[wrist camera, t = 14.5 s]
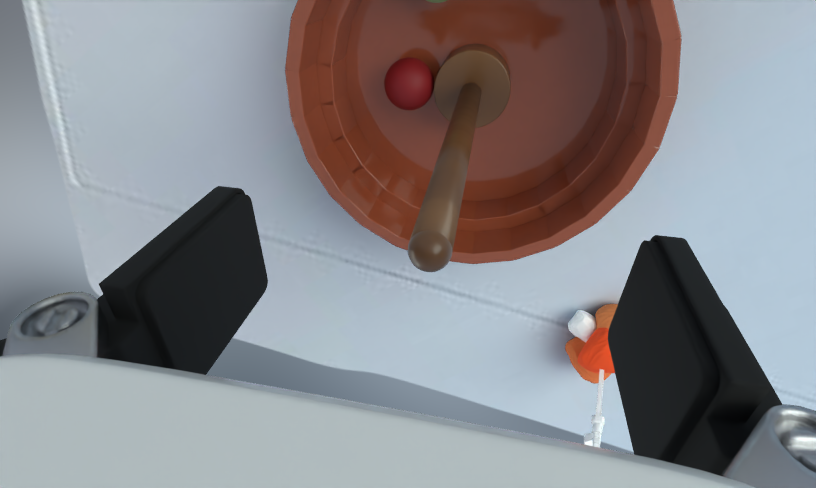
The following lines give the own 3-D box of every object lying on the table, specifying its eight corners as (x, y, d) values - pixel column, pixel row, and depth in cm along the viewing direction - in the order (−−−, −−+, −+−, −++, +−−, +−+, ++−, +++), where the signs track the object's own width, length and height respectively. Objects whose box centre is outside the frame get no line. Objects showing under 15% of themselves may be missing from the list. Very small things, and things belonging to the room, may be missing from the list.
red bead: (417, 51, 28) (374, 55, 26) (445, 59, 26) (401, 64, 24) (415, 100, 29) (375, 106, 28) (442, 112, 27) (401, 119, 26)
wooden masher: (440, 41, 26) (339, 175, 11) (515, 45, 26) (528, 194, 10) (436, 115, 29) (349, 314, 13) (504, 120, 28) (501, 336, 12)
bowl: (309, -121, 24) (257, -140, 19) (701, -121, 21) (761, -143, 16) (335, 202, 35) (306, 243, 30) (597, 231, 32) (613, 281, 27)
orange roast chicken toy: (535, 362, 40) (545, 496, 30) (585, 285, 35) (616, 417, 25) (600, 383, 40) (630, 524, 30) (660, 308, 34) (721, 451, 25)
